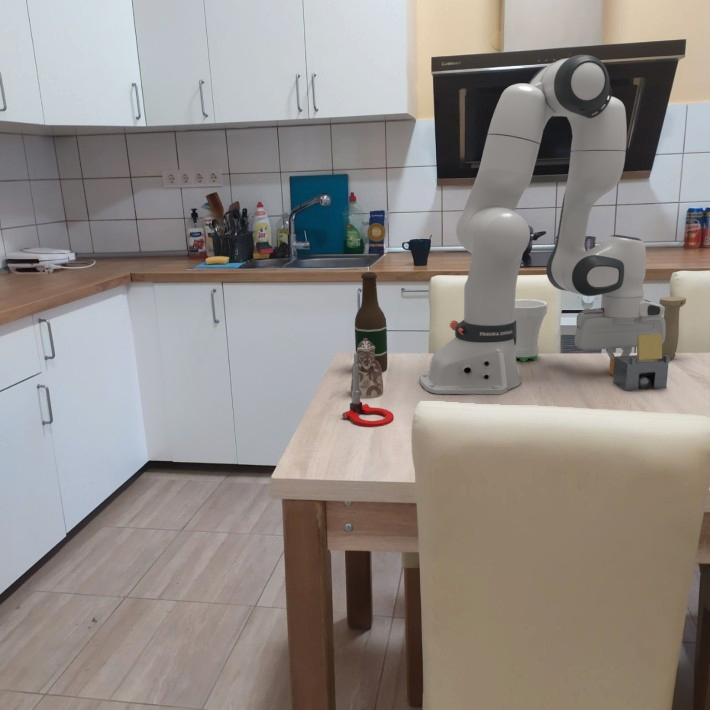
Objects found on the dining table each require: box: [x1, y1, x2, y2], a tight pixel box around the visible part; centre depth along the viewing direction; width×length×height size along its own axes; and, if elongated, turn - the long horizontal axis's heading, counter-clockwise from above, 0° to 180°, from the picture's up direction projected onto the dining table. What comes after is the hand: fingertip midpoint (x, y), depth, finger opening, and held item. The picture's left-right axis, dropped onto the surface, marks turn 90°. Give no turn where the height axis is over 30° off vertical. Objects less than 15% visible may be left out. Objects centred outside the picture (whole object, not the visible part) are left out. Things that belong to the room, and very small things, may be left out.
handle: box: [659, 295, 687, 360], centre depth 164 cm, size 5×6×15 cm
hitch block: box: [612, 354, 671, 392], centre depth 145 cm, size 9×7×7 cm
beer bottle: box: [354, 271, 388, 373], centre depth 162 cm, size 8×8×24 cm
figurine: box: [350, 338, 384, 400], centre depth 146 cm, size 7×7×12 cm
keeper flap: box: [636, 334, 664, 363], centre depth 141 cm, size 6×6×1 cm
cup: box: [515, 298, 548, 362], centre depth 169 cm, size 11×11×14 cm
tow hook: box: [342, 352, 395, 428], centre depth 131 cm, size 8×13×9 cm
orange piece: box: [608, 358, 651, 390], centre depth 149 cm, size 5×12×3 cm, turn 5°
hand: (617, 365), depth 156 cm, fingers closed
